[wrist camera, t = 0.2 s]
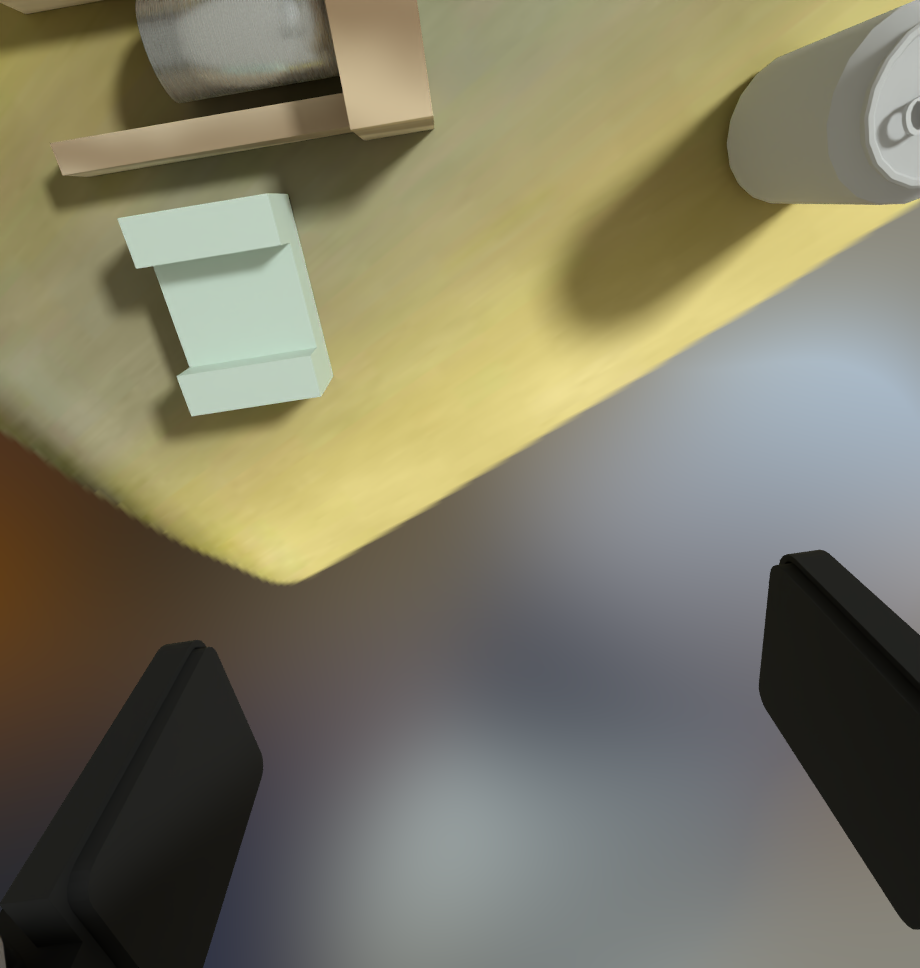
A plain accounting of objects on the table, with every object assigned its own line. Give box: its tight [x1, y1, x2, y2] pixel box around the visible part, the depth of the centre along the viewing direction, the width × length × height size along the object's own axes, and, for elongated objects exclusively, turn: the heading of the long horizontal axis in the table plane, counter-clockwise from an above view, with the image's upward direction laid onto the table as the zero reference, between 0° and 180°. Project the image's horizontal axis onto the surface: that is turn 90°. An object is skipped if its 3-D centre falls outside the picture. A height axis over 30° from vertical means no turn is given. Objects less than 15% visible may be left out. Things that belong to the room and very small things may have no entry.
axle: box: [135, 0, 340, 103], centre depth 29 cm, size 12×4×4 cm, turn 98°
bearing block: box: [0, 0, 434, 177], centre depth 28 cm, size 10×20×6 cm, turn 98°
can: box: [727, 0, 920, 205], centre depth 28 cm, size 8×8×12 cm
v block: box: [117, 193, 333, 416], centre depth 34 cm, size 11×8×4 cm
